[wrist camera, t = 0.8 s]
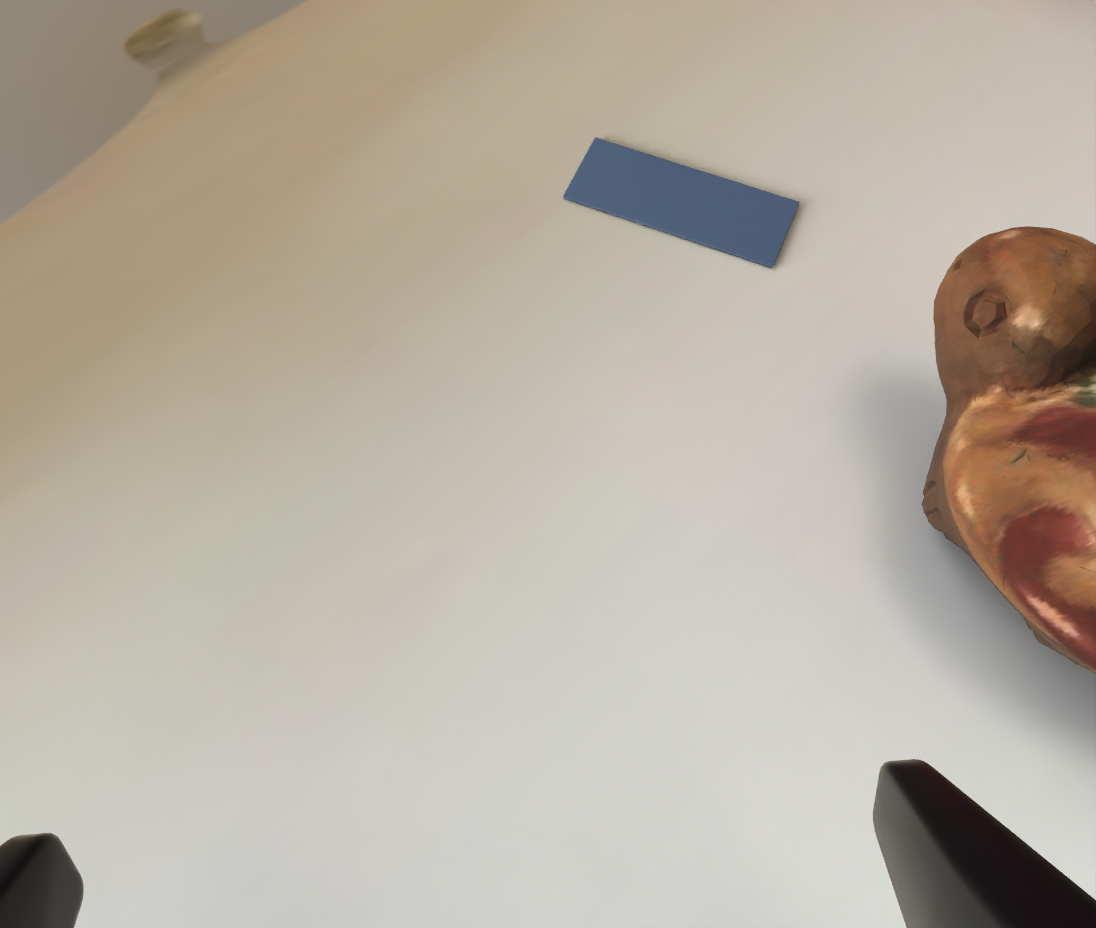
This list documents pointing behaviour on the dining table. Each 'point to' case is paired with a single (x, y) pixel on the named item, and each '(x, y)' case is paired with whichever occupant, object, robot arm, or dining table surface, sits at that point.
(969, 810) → the robot arm
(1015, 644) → the dining table surface
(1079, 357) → the decorative turtle
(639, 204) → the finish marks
